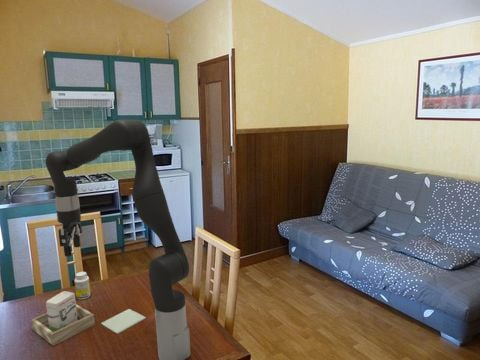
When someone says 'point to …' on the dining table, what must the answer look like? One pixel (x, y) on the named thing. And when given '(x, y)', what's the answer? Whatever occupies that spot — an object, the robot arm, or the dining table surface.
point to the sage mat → (123, 321)
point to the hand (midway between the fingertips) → (73, 251)
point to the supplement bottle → (82, 285)
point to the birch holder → (64, 332)
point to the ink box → (61, 310)
